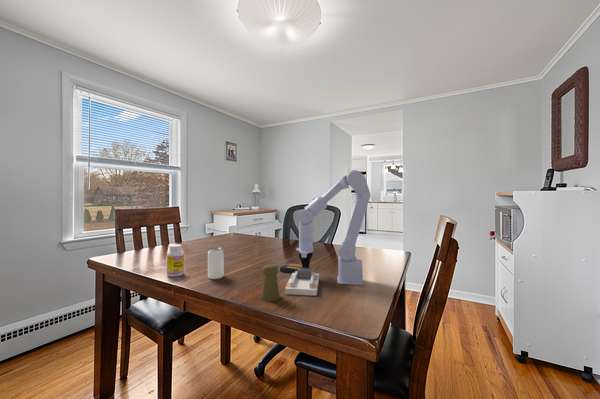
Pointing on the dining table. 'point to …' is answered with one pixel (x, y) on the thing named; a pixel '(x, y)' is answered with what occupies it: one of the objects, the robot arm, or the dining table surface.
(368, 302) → the dining table surface
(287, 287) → the switch board
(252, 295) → the dining table surface
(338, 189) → the robot arm
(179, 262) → the supplement bottle
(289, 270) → the ammunition clip
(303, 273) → the switch tab
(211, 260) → the can
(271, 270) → the green chess rook
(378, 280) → the dining table surface
